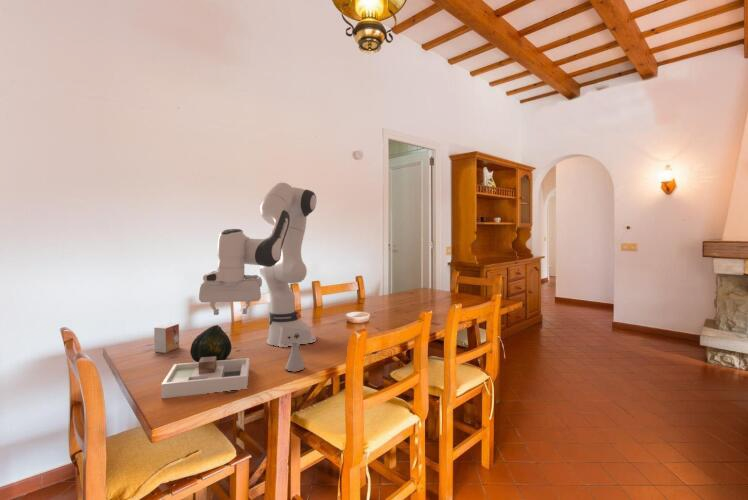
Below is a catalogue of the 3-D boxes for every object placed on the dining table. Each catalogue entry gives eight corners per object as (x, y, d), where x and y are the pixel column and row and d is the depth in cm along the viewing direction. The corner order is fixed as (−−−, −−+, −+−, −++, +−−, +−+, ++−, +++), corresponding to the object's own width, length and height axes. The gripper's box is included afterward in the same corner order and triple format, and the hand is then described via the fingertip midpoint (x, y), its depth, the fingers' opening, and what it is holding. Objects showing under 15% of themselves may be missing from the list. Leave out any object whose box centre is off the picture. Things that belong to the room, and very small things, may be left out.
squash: (181, 358, 131) (211, 324, 135) (184, 347, 144) (211, 317, 148) (213, 379, 135) (241, 346, 139) (213, 366, 149) (239, 337, 153)
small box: (165, 353, 151) (165, 328, 150) (154, 352, 152) (153, 327, 151) (179, 347, 159) (179, 323, 158) (168, 346, 160) (168, 322, 159)
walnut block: (216, 367, 129) (216, 356, 129) (214, 372, 125) (214, 361, 124) (201, 368, 128) (201, 357, 128) (198, 374, 123) (198, 362, 123)
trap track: (249, 369, 135) (249, 358, 135) (247, 389, 119) (247, 376, 119) (174, 376, 128) (174, 364, 128) (161, 398, 112) (161, 384, 111)
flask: (295, 374, 132) (295, 347, 131) (281, 370, 135) (281, 344, 135) (308, 368, 138) (309, 342, 137) (294, 364, 142) (295, 339, 141)
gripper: (262, 274, 133) (261, 311, 134) (201, 274, 128) (201, 313, 128) (261, 276, 127) (261, 315, 128) (198, 276, 122) (197, 317, 122)
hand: (230, 314), depth 128 cm, fingers open, 8 cm apart
